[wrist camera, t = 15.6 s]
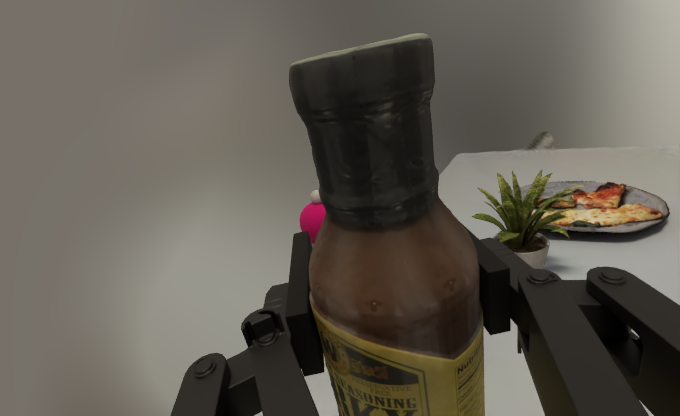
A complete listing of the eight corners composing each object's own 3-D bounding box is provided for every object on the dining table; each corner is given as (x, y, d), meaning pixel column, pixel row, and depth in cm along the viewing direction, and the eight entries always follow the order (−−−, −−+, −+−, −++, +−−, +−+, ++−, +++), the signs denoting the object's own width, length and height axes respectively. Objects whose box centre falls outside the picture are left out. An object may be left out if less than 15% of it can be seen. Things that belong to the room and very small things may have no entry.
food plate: (645, 189, 65) (648, 172, 64) (692, 248, 47) (697, 226, 46) (505, 191, 78) (505, 177, 76) (499, 238, 59) (498, 221, 58)
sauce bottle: (338, 464, 18) (216, 81, 11) (419, 394, 21) (366, 53, 13) (427, 606, 13) (303, 38, 5) (520, 486, 15) (521, 7, 8)
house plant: (575, 331, 38) (586, 201, 32) (456, 299, 47) (448, 193, 41) (586, 266, 48) (596, 158, 42) (486, 250, 56) (483, 159, 50)
